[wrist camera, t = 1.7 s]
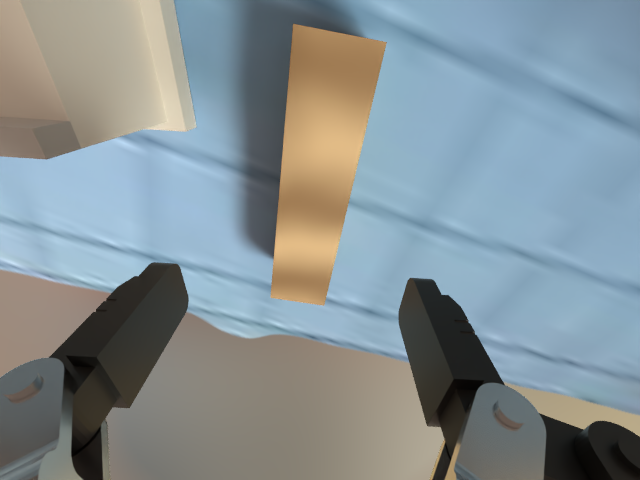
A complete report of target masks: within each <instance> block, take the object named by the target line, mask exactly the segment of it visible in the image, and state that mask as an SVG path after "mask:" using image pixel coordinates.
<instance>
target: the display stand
mask: <svg viewBox="0 0 640 480" xmlns="http://www.w3.org/2000/svg"><path fill="white" fill-rule="evenodd" d="M196 127H197V126H196V120H195V115H194V109H193V104H192V98H191V93H190V87H189V82H188V76H187V71H186V65H185V60H184V54H183V49H182V43H181V38H180V32H179V27H178V21H177V16H176V10H175V5H174V0H0V156H4V157H19V158H35V159H49V158H53V157H56V156H59V155H62V154H66V153H69V152H72V151H75V150H78V149H82V148H85V147H88V146H91V145H94V144H98V143H101V142H104V141H107V140H110V139H114V138H117V137H120V136H123V135H127V134H130V133H133V132H136V131H139V130H143V129H153V130H169V131H184V132H186V131H189V130H191V129H194V128H196Z"/></svg>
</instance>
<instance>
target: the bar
mask: <svg viewBox="0 0 640 480" xmlns="http://www.w3.org/2000/svg"><path fill="white" fill-rule="evenodd" d="M386 43H387V42H383V41H378V40H373V39H368V38H363V37H358V36H353V35H347V34H342V33H337V32H332V31H327V30H322V29H317V28H312V27H307V26H302V25H297V24H293V32H292V44H291V56H290V69H289V81H288V93H287V105H286V117H285V129H284V141H283V153H282V166H281V178H280V190H279V202H278V214H277V226H276V238H275V250H274V262H273V275H272V287H271V298H276V299H283V300H290V301H296V302H303V303H310V304H317V305H324V304H325V300H326V295H327V291H328V287H329V283H330V279H331V274H332V270H333V266H334V262H335V258H336V253H337V249H338V245H339V241H340V236H341V232H342V228H343V224H344V220H345V215H346V211H347V207H348V203H349V199H350V194H351V190H352V186H353V182H354V177H355V173H356V169H357V165H358V161H359V156H360V152H361V148H362V144H363V140H364V135H365V131H366V127H367V123H368V118H369V114H370V110H371V106H372V102H373V97H374V93H375V89H376V85H377V81H378V76H379V72H380V68H381V64H382V59H383V55H384V51H385V47H386Z"/></svg>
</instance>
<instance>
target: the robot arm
mask: <svg viewBox="0 0 640 480" xmlns="http://www.w3.org/2000/svg"><path fill="white" fill-rule="evenodd" d="M187 307H188V294H187V290H186V287H185V283H184V280H183V276H182V273H181V269H180V267H179V265H178V264H173V263H156V262H154V263H151V264H150V265H149V266H148V267H147V268H146V269H145V270H144V271H143V272H142V273H141V274H140V275H139V276H135V277H133V278H131V279H130V280H128V281H126V282H125V283H123V284H122V285H120V286H118V287H117V288H116V289H115V290H114V292H113V293H112V294H111V295H110V296H109V297H108V298H107V300H106V301H104V302H103V303H102V304H101V305H100V306H99V307H98V308H97V309H96V312H93V313H92V314H91V315H90V316H89V317H88V318H87V319H86V320H85V321H84V322H83V323H82V324H81V325H80V326H79V328H77V329H76V331H75V332H74V333H73V334H72V335H71V336H70V337H69V338H68V339H67V340H66V341H65V342H64V343H63V344H62V345H61V346H60V347H59V348H58V349H57V350H56V351H55V352H54V353H53V354H52V355H51V356H50V357H49V358H41V359H37V360H34V361H30V362H28V363H25V364H23V365H20V366H18V367H17V368H14V369H13V370H11V371H9V372H8V373H6V374H5V375H3V376H2V377H1V378H0V480H111V478H110V459H109V443H108V425H107V421H106V419H105V418H106V416H107V415H108V413H109V412H110V410H111V409H112V407H118V408H130V406H131V405H132V403H133V401H134V399H135V398H136V396H137V394H138V393H139V391H140V389H141V388H142V386H143V384H144V383H145V381H146V379H147V377H148V376H149V374H150V372H151V371H152V369H153V367H154V366H155V364H156V362H157V360H158V359H159V357H160V355H161V354H162V352H163V350H164V348H165V347H166V345H167V344H168V342H169V340H170V339H171V337H172V335H173V333H174V331H175V330H176V328H177V327H178V325H179V323H180V322H181V320H182V318H183V317H184V315H185V313H186V311H187ZM399 326H400V330H401V334H402V337H403V341H404V344H405V348H406V352H407V355H408V359H409V362H410V365H411V370H412V373H413V377H414V380H415V384H416V388H417V391H418V395H419V398H420V402H421V405H422V409H423V413H424V417H425V420H426V424H427V426H433V427H441V429H442V432H443V435H444V441H443V443H442V445H441V448H440V451H439V454H438V456H437V459H436V462H435V465H434V468H433V471H432V473H431V476H430V480H640V437H639V436H638V435H636V434H635V433H633V432H631V431H630V430H628V429H626V428H624V427H622V426H620V425H617V424H614V423H611V422H607V421H596V422H594V423H592V424H591V425H589V426H588V427H587V428H586V429H584V430H583V429H580V428H577V427H574V426H572V425H569V424H566V423H564V422H561V421H558V420H555V419H553V418H550V417H547V416H545V415H542V414H540V413H538V412H537V410H536V409H535V407H534V406H533V405H532V404H531V403H530V402H529V401H528V400H527V399H526V398H525V397H524V396H522V395H521V394H520V393H518V392H517V391H515V390H514V389H512V388H510V387H508V386H505V384H504V383H503V381H502V380H501V378H500V376H499V374H498V372H497V371H496V369H495V367H494V365H493V363H492V362H491V360H490V358H489V356H488V355H487V353H486V351H485V349H484V347H483V346H482V344H481V342H480V340H479V338H478V337H477V335H475V331H474V329H473V328H472V326H471V324H470V323H468V319H467V317H466V315H465V313H464V312H463V310H462V308H461V307H460V306H459V305H458V304H457V303H456V302H455V301H454V300H453V299H452V298H451V297H450V296H449V295H441V293H440V291H439V289H438V287H437V285H436V283H435V281H434V280H432V279H419V278H410V279H409V280H408V282H407V285H406V288H405V292H404V295H403V298H402V302H401V305H400V309H399Z"/></svg>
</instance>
